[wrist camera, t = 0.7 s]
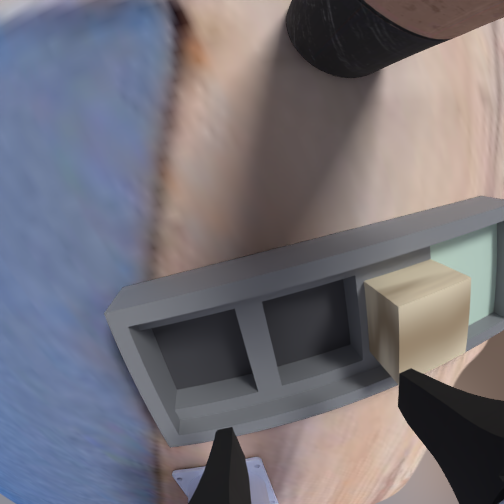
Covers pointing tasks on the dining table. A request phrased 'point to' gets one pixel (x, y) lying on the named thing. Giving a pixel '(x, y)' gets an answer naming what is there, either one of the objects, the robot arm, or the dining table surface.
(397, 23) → the travel mug
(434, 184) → the dining table surface
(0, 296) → the dining table surface
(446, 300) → the birch block
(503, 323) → the tray
